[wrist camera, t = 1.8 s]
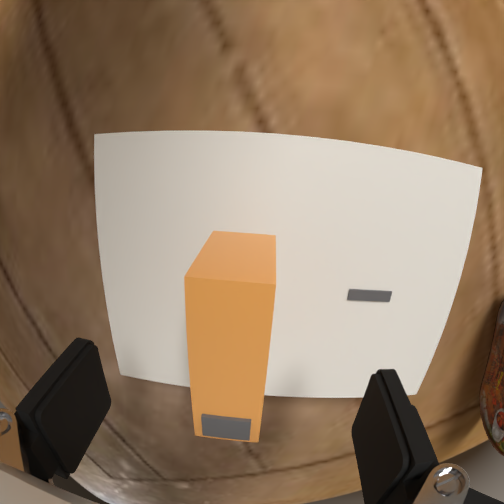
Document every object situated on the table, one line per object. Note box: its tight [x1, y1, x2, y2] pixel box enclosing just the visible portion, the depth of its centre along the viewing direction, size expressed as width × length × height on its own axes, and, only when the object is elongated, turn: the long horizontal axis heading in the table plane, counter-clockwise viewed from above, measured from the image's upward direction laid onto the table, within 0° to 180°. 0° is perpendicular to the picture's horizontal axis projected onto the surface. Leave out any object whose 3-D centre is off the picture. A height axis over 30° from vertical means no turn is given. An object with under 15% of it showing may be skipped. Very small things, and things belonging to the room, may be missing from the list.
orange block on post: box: [184, 231, 276, 442], centre depth 12 cm, size 7×2×5 cm, turn 177°
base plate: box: [94, 131, 482, 398], centre depth 16 cm, size 15×20×4 cm
